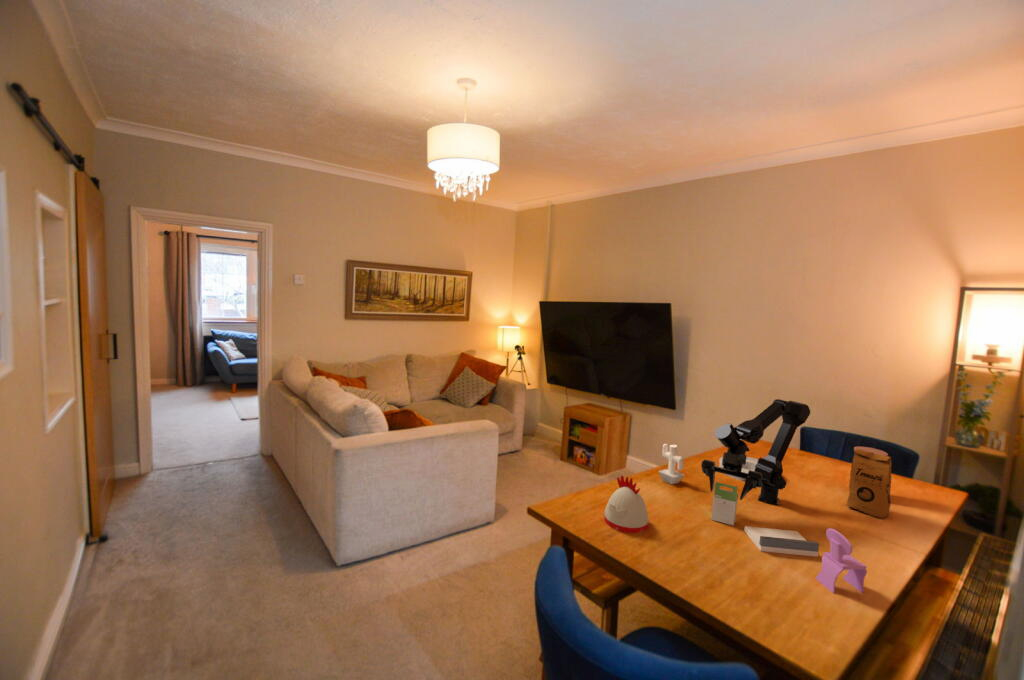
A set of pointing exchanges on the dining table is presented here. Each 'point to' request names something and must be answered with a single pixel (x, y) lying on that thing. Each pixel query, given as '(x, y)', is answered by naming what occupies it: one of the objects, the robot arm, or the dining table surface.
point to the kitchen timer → (626, 508)
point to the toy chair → (840, 563)
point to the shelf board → (782, 541)
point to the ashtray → (745, 468)
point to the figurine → (672, 465)
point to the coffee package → (870, 483)
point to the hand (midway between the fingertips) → (725, 495)
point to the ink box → (724, 504)
